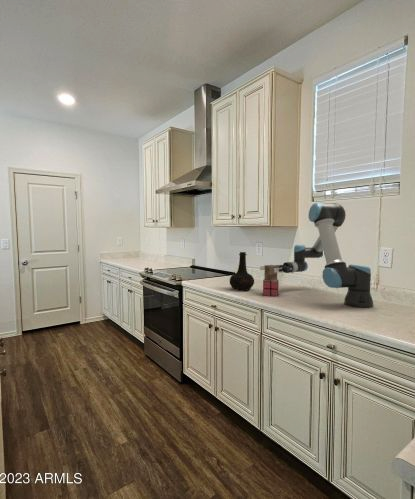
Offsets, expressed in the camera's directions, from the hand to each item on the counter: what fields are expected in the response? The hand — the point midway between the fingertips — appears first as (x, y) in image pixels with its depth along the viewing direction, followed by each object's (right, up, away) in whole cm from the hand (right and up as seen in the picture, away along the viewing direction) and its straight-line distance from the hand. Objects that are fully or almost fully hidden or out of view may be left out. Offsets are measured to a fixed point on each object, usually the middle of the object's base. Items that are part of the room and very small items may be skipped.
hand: (267, 269), depth 200 cm
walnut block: (+3, -8, +2) cm, 8 cm away
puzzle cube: (+3, -18, +3) cm, 18 cm away
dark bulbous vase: (-15, -17, +20) cm, 30 cm away
